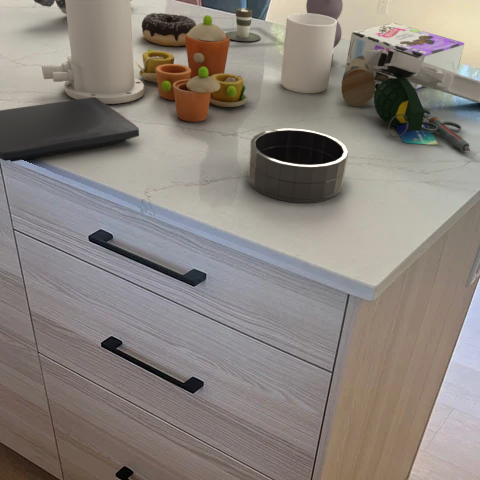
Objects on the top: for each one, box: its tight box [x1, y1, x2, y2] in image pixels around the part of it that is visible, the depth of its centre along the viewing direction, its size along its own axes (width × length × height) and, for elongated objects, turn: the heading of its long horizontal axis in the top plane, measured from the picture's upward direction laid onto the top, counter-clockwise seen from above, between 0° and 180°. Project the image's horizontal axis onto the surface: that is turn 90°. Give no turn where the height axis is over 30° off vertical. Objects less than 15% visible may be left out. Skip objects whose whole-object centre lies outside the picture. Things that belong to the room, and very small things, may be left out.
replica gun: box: [364, 49, 480, 104], centre depth 103 cm, size 29×16×3 cm, turn 97°
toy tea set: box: [135, 14, 248, 123], centre depth 100 cm, size 26×16×10 cm, turn 20°
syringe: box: [421, 108, 476, 156], centre depth 97 cm, size 8×18×2 cm, turn 18°
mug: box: [340, 56, 390, 107], centre depth 107 cm, size 8×6×12 cm
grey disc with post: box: [224, 7, 262, 43], centre depth 130 cm, size 12×12×5 cm
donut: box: [141, 12, 197, 47], centre depth 125 cm, size 11×12×4 cm
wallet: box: [0, 97, 140, 163], centre depth 87 cm, size 20×2×15 cm
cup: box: [280, 12, 338, 94], centre depth 108 cm, size 8×12×10 cm
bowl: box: [247, 128, 349, 204], centre depth 80 cm, size 12×12×4 cm
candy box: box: [346, 22, 465, 90], centre depth 119 cm, size 14×6×16 cm
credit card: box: [395, 123, 439, 146], centre depth 97 cm, size 8×5×1 cm, turn 0°
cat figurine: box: [305, 0, 344, 64], centre depth 118 cm, size 8×8×12 cm
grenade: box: [373, 74, 426, 139], centre depth 97 cm, size 6×7×12 cm
